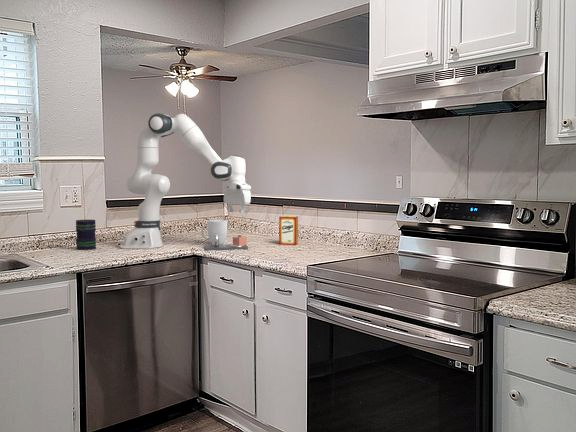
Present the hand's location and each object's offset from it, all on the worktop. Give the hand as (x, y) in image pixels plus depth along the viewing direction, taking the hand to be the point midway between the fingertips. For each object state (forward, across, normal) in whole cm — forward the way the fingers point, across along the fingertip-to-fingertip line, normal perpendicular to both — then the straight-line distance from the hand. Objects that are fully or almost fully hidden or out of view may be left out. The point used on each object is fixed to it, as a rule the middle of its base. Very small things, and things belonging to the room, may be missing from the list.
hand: (236, 212), depth 297 cm
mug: (+19, -23, +2) cm, 29 cm away
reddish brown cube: (+17, -2, +4) cm, 18 cm away
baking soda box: (+18, +4, +33) cm, 38 cm away
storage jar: (+21, -48, -61) cm, 81 cm away
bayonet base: (+19, -4, -3) cm, 20 cm away
